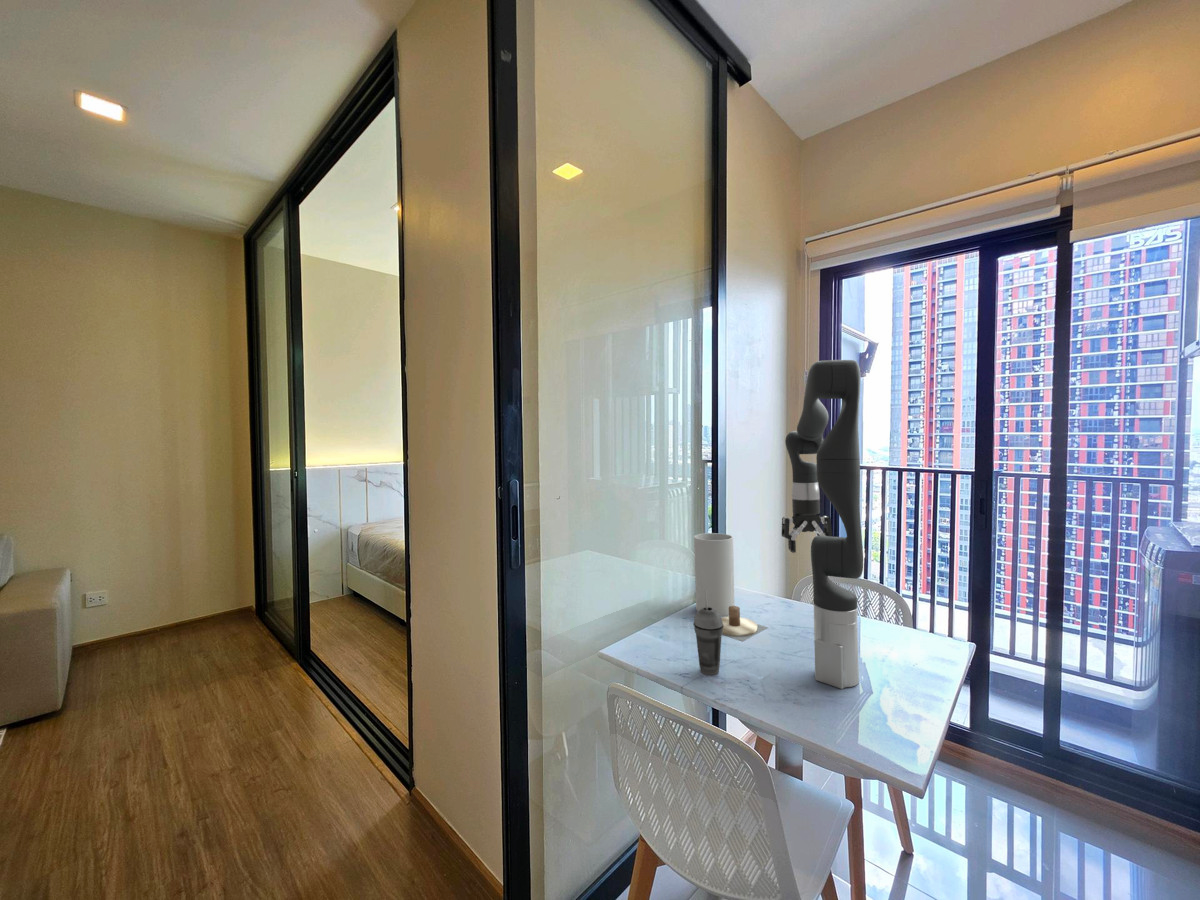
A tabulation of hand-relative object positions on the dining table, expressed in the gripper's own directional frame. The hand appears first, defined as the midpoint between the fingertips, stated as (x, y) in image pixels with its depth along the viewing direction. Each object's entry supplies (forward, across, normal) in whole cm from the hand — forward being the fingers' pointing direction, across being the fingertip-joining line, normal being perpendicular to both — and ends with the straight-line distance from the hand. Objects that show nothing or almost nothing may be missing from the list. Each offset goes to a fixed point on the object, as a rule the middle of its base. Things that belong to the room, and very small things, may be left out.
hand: (807, 551), depth 142 cm
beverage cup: (+23, -36, -23) cm, 49 cm away
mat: (+23, -22, +2) cm, 32 cm away
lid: (+22, -22, +2) cm, 31 cm away
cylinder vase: (+23, -23, +17) cm, 37 cm away
